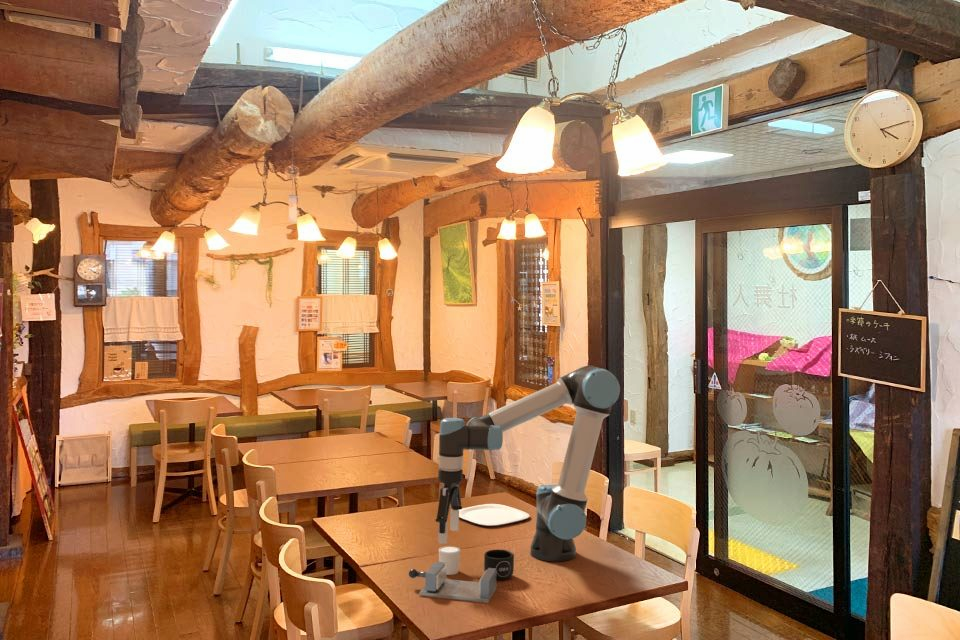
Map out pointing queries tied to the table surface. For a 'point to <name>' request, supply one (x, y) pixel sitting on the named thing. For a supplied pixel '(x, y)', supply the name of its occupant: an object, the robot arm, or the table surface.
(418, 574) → the jaw
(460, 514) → the plate
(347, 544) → the table surface
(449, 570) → the white cylinder
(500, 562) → the mug
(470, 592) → the vise
